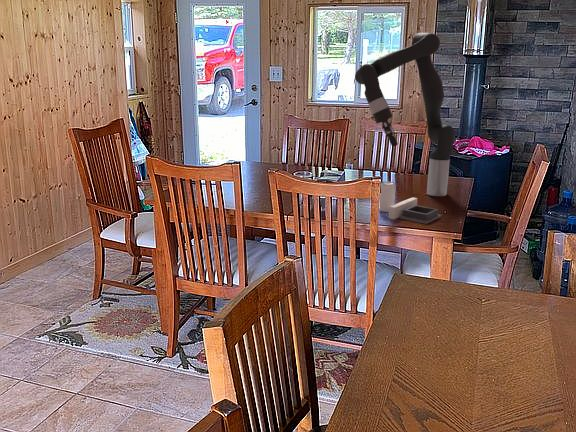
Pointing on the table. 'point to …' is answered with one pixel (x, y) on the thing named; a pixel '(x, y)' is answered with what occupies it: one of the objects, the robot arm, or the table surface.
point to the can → (387, 196)
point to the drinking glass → (321, 198)
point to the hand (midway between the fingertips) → (395, 145)
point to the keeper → (420, 214)
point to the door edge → (401, 207)
